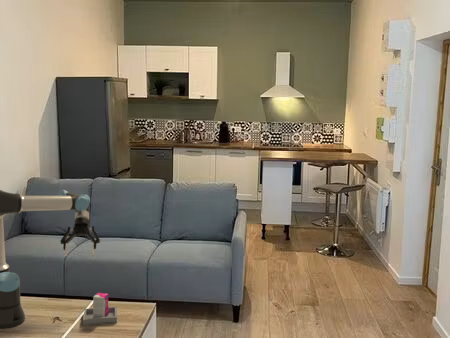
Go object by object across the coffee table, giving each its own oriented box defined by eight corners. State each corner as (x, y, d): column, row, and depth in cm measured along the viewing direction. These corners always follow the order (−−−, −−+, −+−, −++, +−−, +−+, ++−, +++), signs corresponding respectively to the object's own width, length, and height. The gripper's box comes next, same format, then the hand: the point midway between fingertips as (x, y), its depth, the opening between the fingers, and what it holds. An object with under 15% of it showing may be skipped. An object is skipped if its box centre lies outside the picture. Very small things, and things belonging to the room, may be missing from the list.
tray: (83, 325, 233) (82, 319, 233) (84, 314, 246) (84, 308, 246) (116, 322, 237) (116, 317, 237) (116, 311, 249) (116, 306, 249)
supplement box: (104, 319, 238) (103, 297, 237) (92, 318, 239) (92, 296, 238) (108, 315, 244) (108, 293, 242) (97, 314, 245) (97, 292, 243)
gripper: (105, 223, 272) (104, 257, 259) (59, 224, 267) (55, 258, 254) (104, 216, 266) (103, 250, 253) (57, 217, 261) (53, 252, 248)
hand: (79, 254), depth 254 cm, fingers open, 13 cm apart
